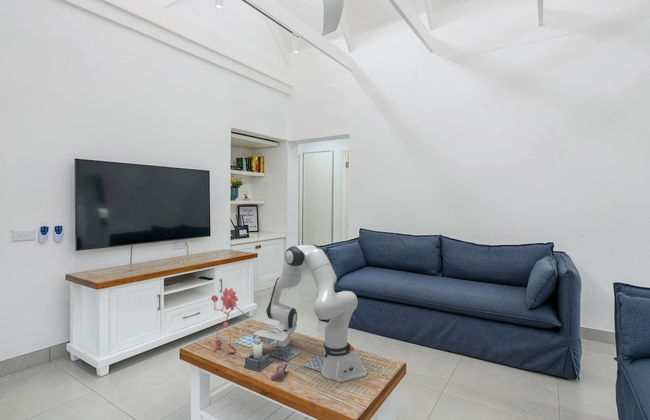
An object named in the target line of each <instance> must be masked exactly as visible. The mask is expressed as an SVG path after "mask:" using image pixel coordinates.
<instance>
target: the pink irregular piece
mask: <svg viewBox="0 0 650 420" xmlns="http://www.w3.org/2000/svg"><path fill="white" fill-rule="evenodd" d="M287 367H288V363H287V362H282V363H280V364H279V365H278V366H276V372H275V373H273V374H272V375H271V378H270V380H271V381H276V380H278V379H281V378H282V377H281V376H284V374H285V370H286V369H287Z"/></svg>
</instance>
